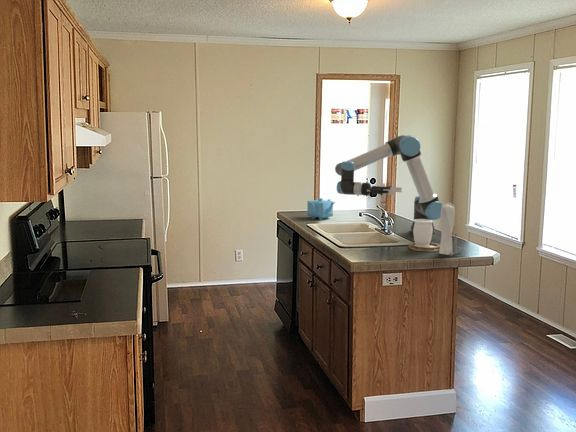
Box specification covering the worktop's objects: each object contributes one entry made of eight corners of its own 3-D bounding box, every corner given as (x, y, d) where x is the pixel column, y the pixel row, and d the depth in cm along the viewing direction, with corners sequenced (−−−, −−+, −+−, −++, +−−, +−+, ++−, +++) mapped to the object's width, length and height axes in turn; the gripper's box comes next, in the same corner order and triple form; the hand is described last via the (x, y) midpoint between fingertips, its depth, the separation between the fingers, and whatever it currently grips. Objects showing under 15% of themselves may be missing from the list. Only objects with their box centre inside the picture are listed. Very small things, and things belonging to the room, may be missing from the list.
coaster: (413, 244, 348) (413, 240, 347) (443, 247, 340) (443, 243, 340) (405, 249, 333) (405, 246, 332) (436, 252, 325) (436, 249, 325)
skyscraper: (449, 256, 318) (452, 203, 314) (435, 254, 323) (438, 202, 319) (457, 254, 324) (459, 201, 320) (443, 251, 330) (445, 200, 325)
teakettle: (305, 216, 446) (306, 196, 444) (331, 216, 448) (331, 196, 446) (309, 220, 427) (309, 200, 425) (335, 220, 429) (336, 200, 427)
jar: (431, 249, 329) (432, 222, 327) (411, 248, 332) (412, 221, 330) (432, 245, 339) (433, 219, 337) (413, 244, 342) (414, 218, 340)
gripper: (369, 193, 368) (403, 195, 359) (355, 197, 346) (391, 200, 337) (369, 180, 367) (404, 182, 358) (355, 184, 345) (391, 186, 336)
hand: (398, 191), depth 347 cm, fingers open, 13 cm apart
